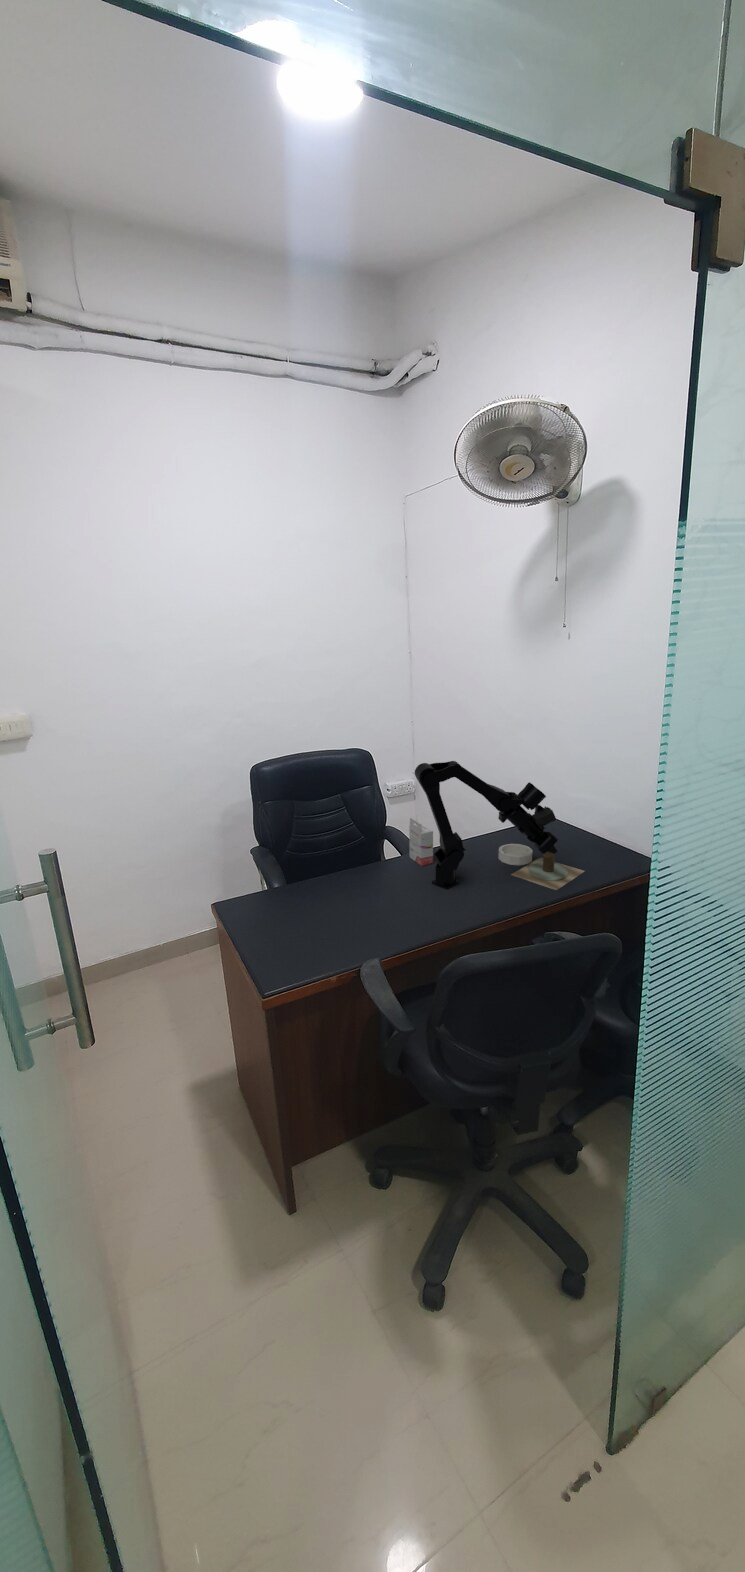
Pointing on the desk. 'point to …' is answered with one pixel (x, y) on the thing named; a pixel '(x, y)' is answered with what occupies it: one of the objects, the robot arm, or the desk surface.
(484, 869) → the desk surface
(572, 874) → the mat
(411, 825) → the ink cartridge box
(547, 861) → the lid
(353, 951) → the desk surface
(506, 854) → the bowl
